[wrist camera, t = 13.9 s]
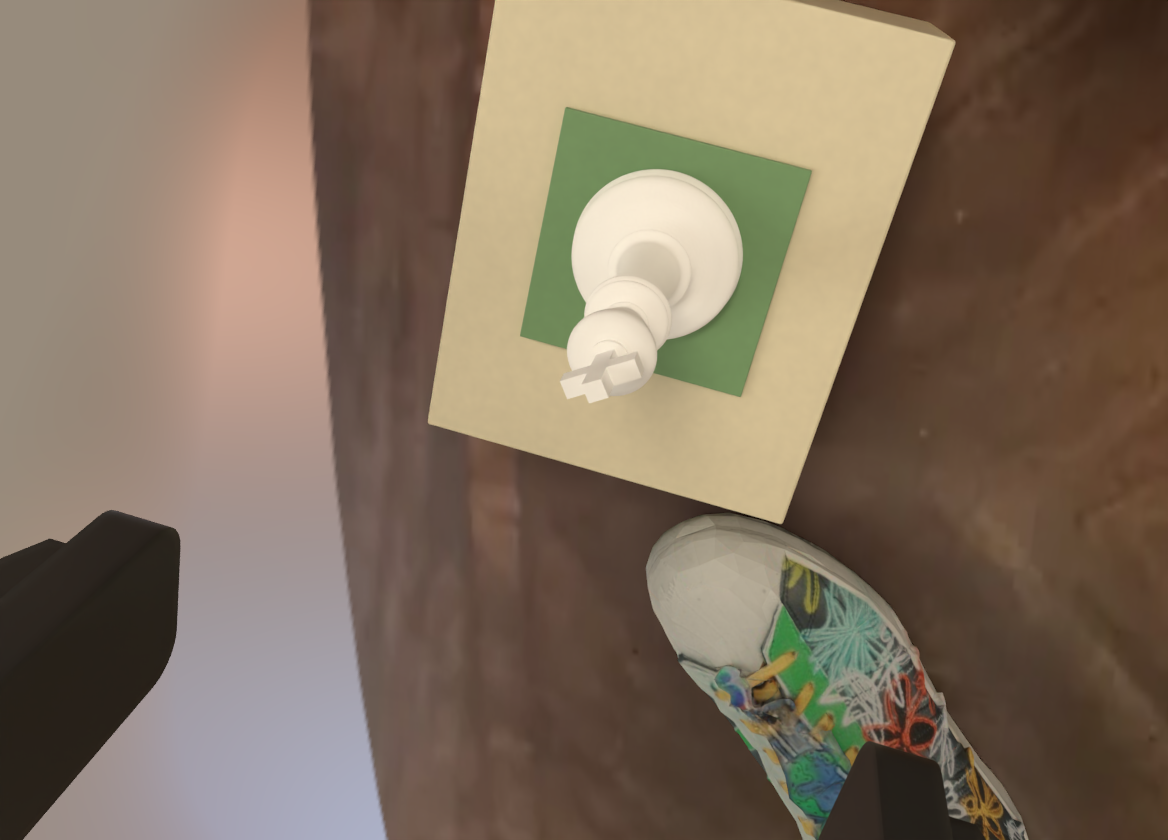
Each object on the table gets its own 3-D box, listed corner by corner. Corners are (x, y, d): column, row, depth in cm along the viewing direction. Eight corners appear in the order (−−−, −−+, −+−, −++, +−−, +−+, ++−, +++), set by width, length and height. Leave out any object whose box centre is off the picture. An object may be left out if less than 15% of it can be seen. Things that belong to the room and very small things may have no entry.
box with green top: (477, 357, 39) (424, 426, 34) (554, -70, 32) (503, -70, 27) (785, 443, 38) (782, 528, 33) (930, 22, 31) (958, 41, 26)
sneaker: (764, 449, 38) (756, 602, 30) (1080, 819, 43) (1152, 1044, 34) (613, 548, 41) (565, 712, 33) (922, 883, 46) (952, 1105, 37)
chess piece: (547, 202, 30) (439, 316, 21) (711, 143, 28) (669, 240, 19) (608, 354, 31) (531, 520, 22) (765, 307, 30) (749, 465, 21)
